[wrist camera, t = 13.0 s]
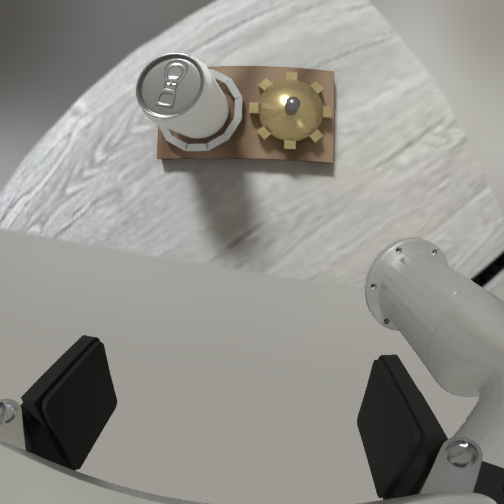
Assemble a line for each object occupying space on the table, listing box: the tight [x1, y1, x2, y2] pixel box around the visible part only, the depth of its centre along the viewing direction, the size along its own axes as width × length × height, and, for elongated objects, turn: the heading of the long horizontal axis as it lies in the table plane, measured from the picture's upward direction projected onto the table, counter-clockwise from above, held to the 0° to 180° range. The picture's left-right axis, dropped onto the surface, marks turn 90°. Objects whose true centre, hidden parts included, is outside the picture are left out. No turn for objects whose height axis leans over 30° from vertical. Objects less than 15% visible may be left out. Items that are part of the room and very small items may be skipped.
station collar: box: [158, 69, 243, 152], centre depth 32 cm, size 10×10×1 cm
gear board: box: [157, 66, 334, 163], centre depth 33 cm, size 20×11×2 cm, turn 88°
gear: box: [249, 72, 332, 150], centre depth 30 cm, size 9×9×4 cm
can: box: [136, 53, 229, 139], centre depth 27 cm, size 6×6×12 cm
